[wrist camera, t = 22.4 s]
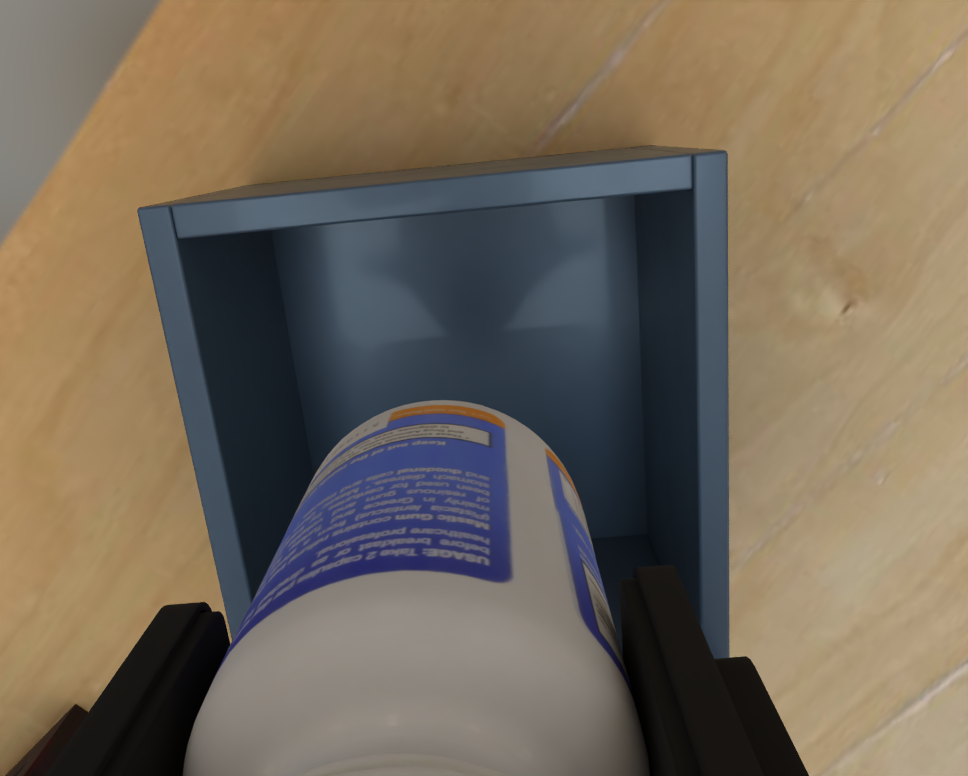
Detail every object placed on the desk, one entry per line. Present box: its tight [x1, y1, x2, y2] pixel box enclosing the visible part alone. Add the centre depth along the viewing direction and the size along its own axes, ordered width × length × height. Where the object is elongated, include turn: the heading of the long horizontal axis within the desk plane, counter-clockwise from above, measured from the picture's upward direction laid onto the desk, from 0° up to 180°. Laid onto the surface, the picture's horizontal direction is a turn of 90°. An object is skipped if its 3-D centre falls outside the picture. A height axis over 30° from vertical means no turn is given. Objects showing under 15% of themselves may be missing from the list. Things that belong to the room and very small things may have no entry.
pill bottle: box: [183, 400, 651, 776], centre depth 11 cm, size 5×5×10 cm
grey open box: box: [137, 145, 729, 659], centre depth 25 cm, size 15×14×9 cm
